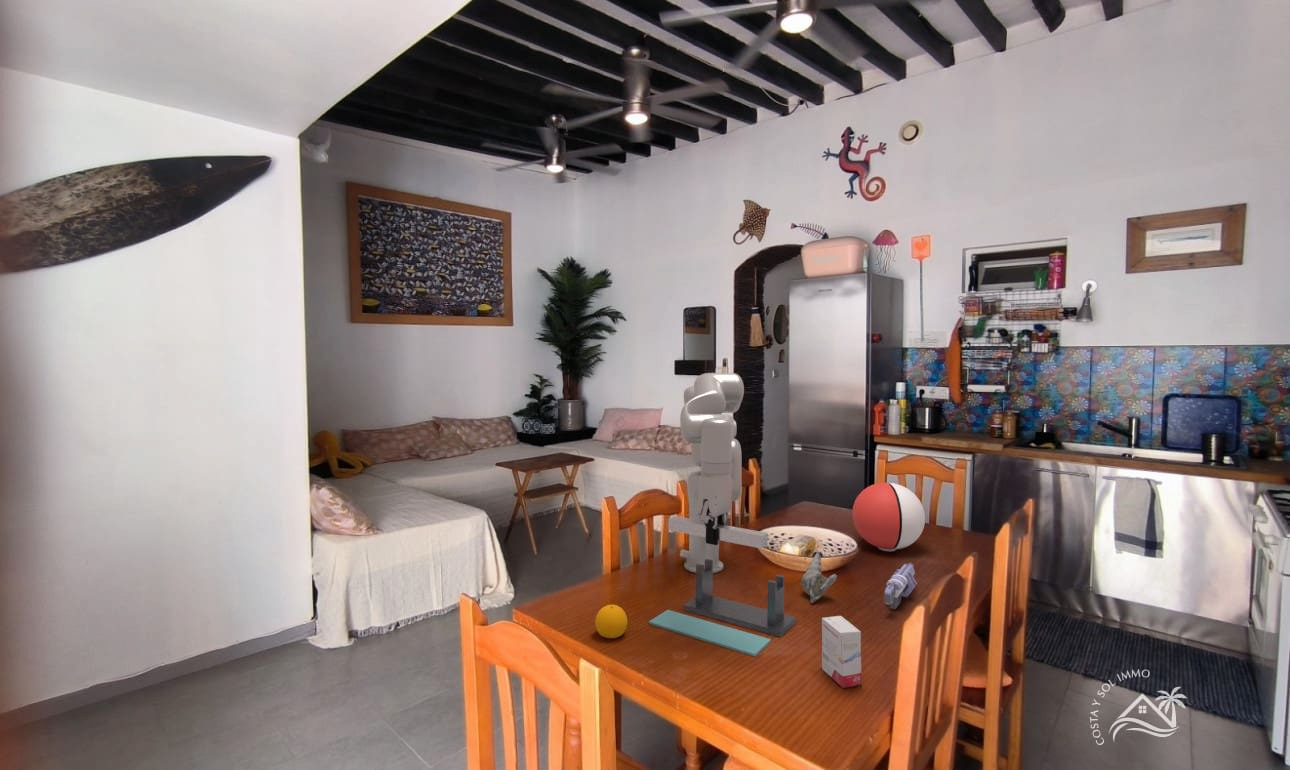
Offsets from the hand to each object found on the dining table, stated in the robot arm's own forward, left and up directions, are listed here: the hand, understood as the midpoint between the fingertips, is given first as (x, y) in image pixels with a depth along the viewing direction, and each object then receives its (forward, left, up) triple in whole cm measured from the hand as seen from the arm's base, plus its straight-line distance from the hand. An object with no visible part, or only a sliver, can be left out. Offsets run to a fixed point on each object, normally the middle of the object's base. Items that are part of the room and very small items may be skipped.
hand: (715, 541), depth 154 cm
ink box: (+32, -2, -24) cm, 40 cm away
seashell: (+13, +40, -24) cm, 48 cm away
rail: (0, 0, +1) cm, 1 cm away
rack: (0, +13, -24) cm, 27 cm away
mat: (-2, 0, -24) cm, 24 cm away
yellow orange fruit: (-21, -15, -24) cm, 35 cm away
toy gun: (+33, +48, -24) cm, 63 cm away
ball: (+18, +94, -24) cm, 99 cm away
